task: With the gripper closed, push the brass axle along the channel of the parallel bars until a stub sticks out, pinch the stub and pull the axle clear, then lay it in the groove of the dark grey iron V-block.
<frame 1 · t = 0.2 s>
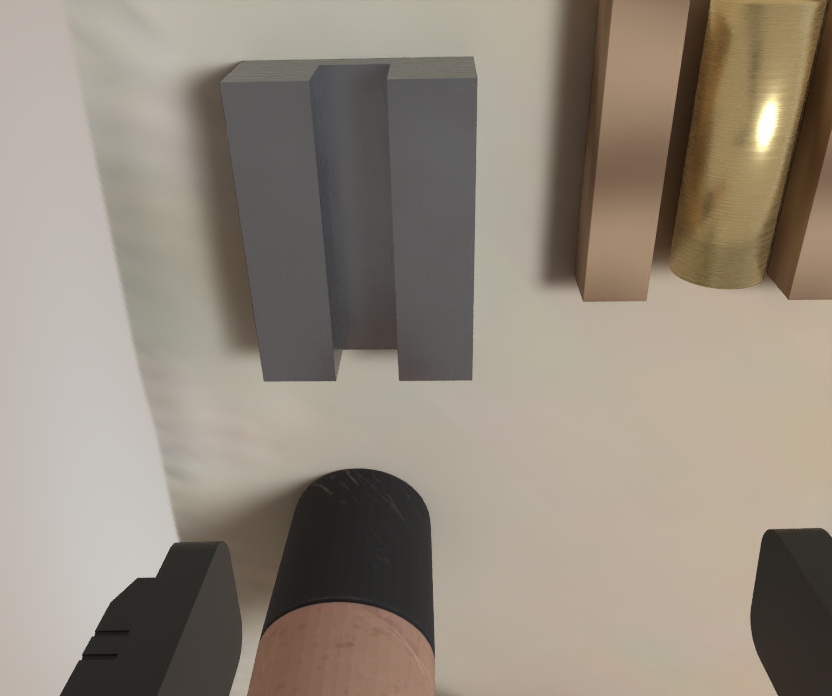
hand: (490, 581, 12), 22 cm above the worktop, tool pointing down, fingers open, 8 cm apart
axle: (723, 131, 30), on the worktop
parallel bars: (725, 133, 30), on the worktop
travel mug: (363, 517, 41), on the worktop
v block: (366, 211, 32), on the worktop
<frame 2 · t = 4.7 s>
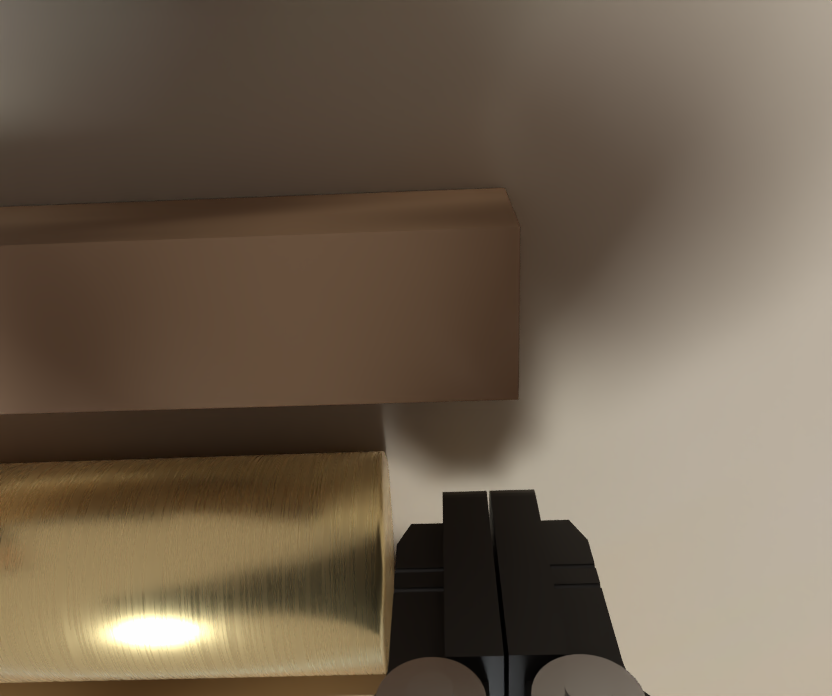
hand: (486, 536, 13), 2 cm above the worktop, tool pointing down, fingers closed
axle: (123, 480, 15), on the worktop, tilted 21°, touching gripper
parallel bars: (181, 483, 15), on the worktop
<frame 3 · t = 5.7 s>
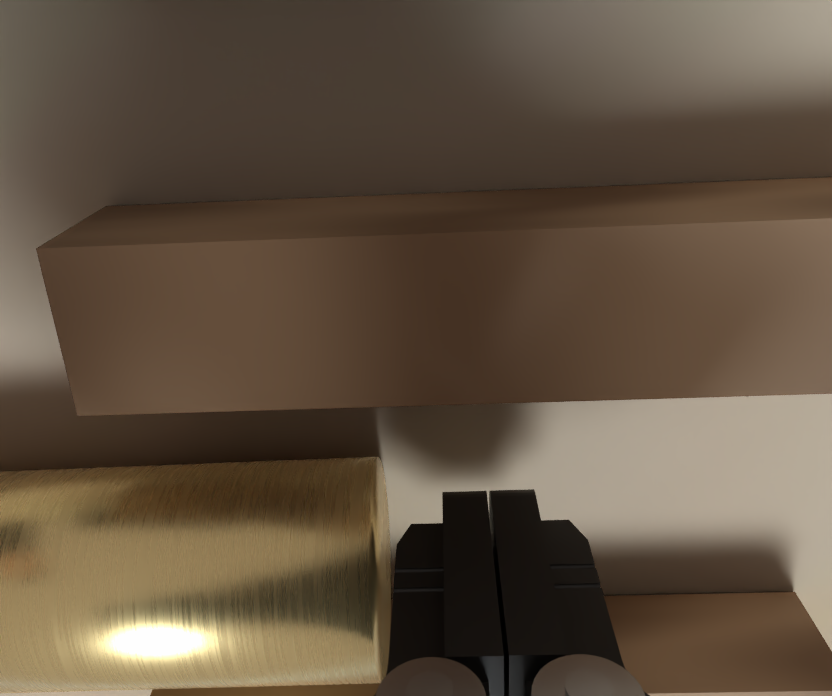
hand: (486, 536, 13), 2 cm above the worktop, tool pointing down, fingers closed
axle: (116, 487, 15), on the worktop, tilted 21°, touching gripper
parallel bars: (485, 478, 14), on the worktop
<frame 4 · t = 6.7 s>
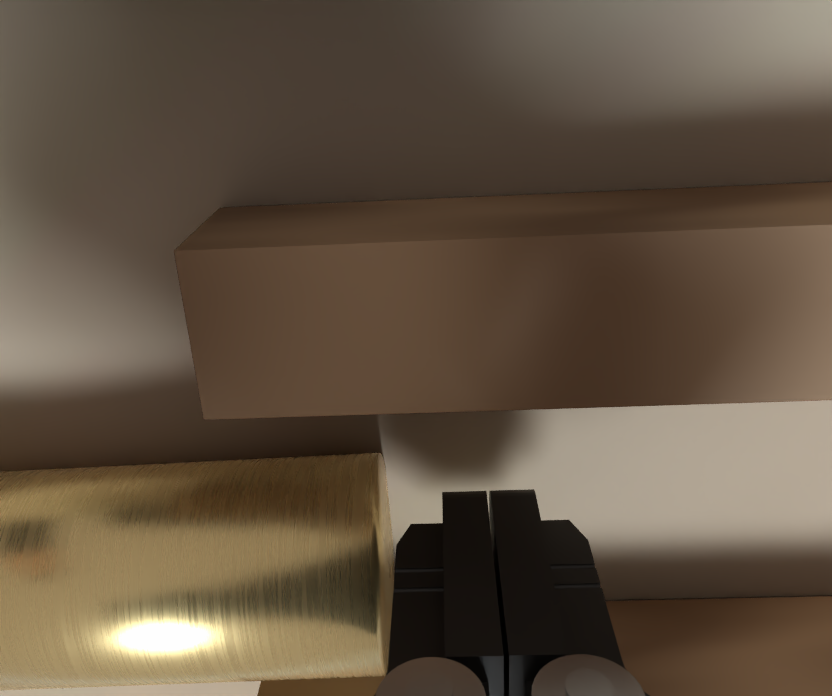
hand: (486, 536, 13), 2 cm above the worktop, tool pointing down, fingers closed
axle: (121, 486, 15), on the worktop, tilted 21°
parallel bars: (588, 480, 14), on the worktop
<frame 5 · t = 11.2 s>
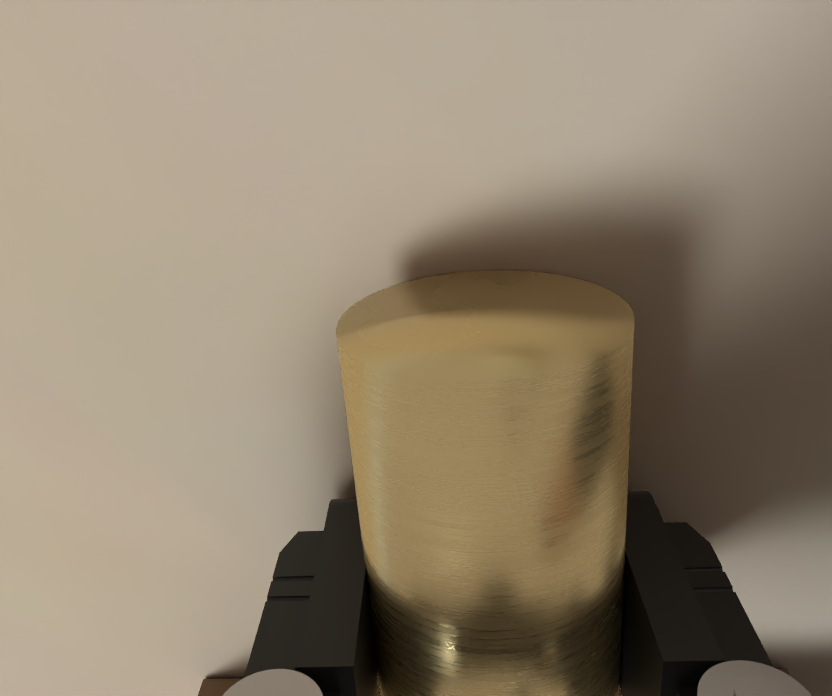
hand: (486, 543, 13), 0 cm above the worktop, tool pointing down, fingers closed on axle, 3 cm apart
axle: (494, 552, 13), on the worktop, touching gripper
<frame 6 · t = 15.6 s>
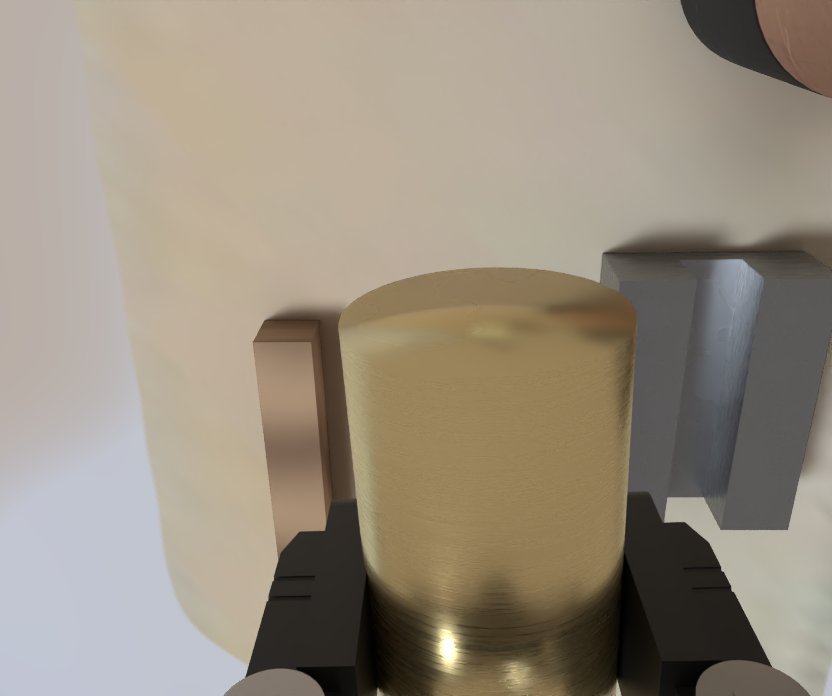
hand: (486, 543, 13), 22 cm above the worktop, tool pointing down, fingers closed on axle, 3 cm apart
axle: (492, 550, 13), point 22 cm above the worktop, touching gripper
parallel bars: (385, 434, 38), on the worktop
v block: (685, 376, 36), on the worktop
when the fingers open (5 cm above the worktop, at t = 20.3 s): axle drops 1 cm, resting on v block.
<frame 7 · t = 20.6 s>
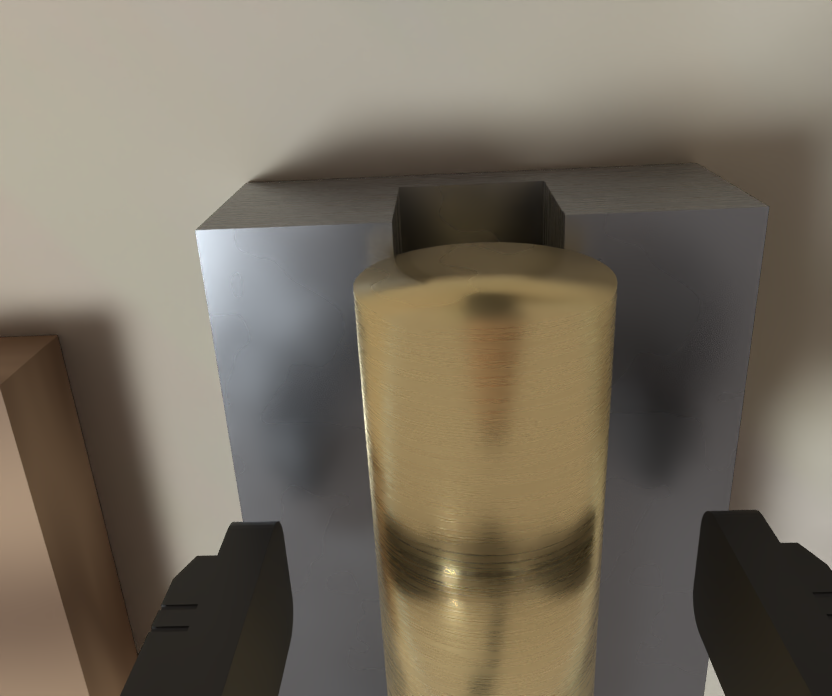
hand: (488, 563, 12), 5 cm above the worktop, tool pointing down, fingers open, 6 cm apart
axle: (490, 504, 14), point 3 cm above the worktop, tilted 5°, touching v block
v block: (474, 445, 17), on the worktop
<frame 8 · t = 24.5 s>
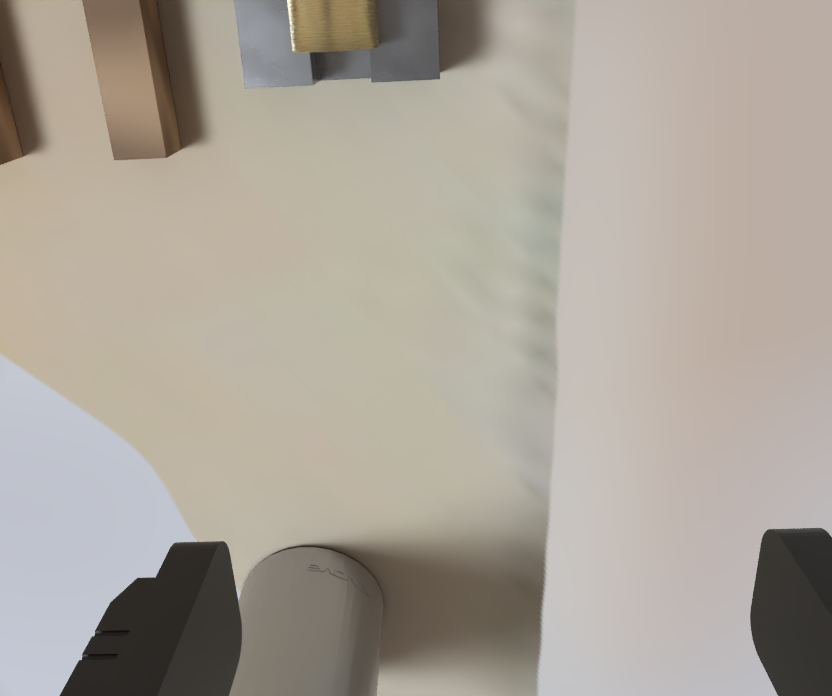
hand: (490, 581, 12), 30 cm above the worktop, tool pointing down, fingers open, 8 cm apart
parallel bars: (49, 25, 37), on the worktop
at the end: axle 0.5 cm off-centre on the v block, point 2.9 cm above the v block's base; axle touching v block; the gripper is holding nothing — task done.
